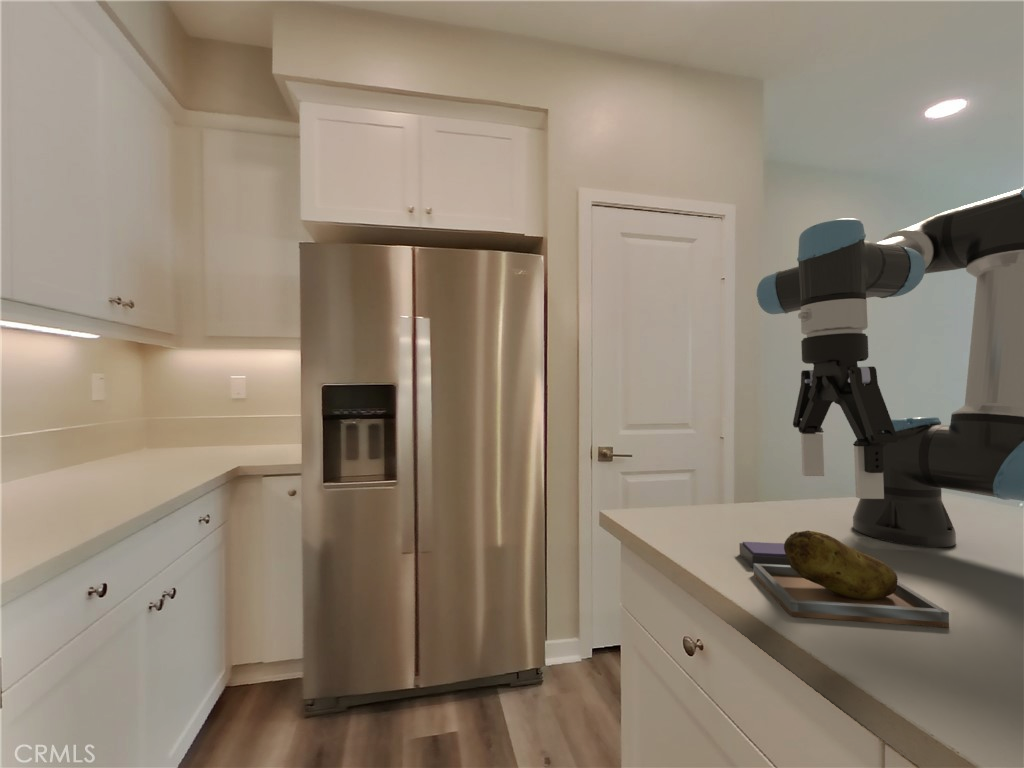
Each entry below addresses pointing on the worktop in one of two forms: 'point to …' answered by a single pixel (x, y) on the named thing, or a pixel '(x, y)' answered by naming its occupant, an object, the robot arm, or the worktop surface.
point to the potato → (839, 566)
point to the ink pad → (763, 553)
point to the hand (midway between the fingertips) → (838, 485)
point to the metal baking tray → (846, 601)
